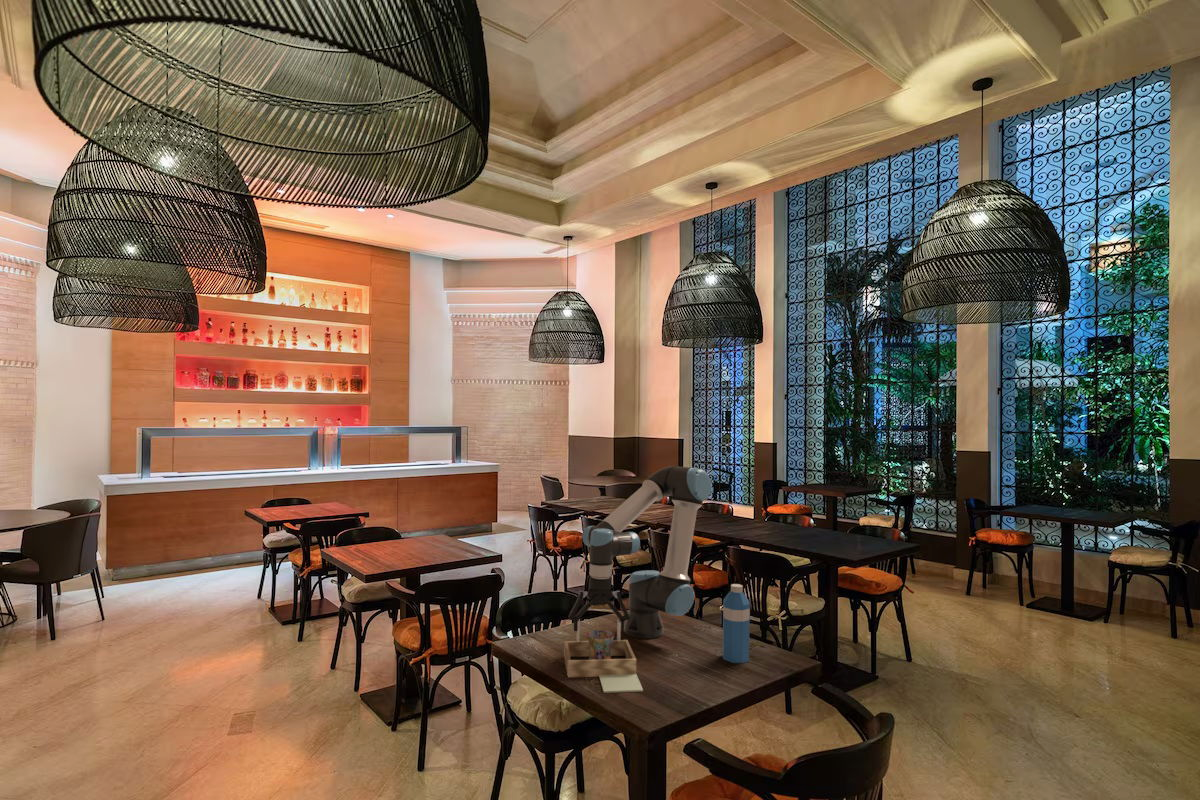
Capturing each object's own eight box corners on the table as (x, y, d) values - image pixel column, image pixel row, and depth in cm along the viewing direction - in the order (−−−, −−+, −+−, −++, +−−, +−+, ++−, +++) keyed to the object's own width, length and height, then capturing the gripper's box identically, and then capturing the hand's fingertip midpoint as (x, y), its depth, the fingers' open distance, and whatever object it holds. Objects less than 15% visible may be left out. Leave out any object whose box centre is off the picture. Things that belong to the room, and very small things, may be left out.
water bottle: (718, 660, 221) (719, 586, 222) (726, 651, 230) (727, 580, 230) (745, 665, 217) (746, 590, 217) (752, 656, 225) (753, 584, 226)
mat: (636, 675, 207) (636, 673, 207) (643, 691, 195) (643, 689, 195) (599, 676, 206) (599, 674, 206) (603, 692, 194) (603, 691, 194)
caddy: (627, 654, 225) (627, 639, 225) (636, 675, 207) (636, 659, 207) (564, 655, 222) (564, 641, 222) (567, 677, 204) (567, 661, 204)
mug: (617, 671, 210) (618, 638, 210) (590, 673, 208) (591, 640, 208) (606, 657, 222) (607, 626, 222) (580, 660, 219) (581, 628, 219)
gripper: (635, 573, 220) (633, 636, 220) (562, 573, 217) (560, 637, 217) (639, 579, 213) (637, 644, 212) (563, 578, 210) (561, 644, 209)
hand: (598, 640), depth 214 cm, fingers open, 13 cm apart
